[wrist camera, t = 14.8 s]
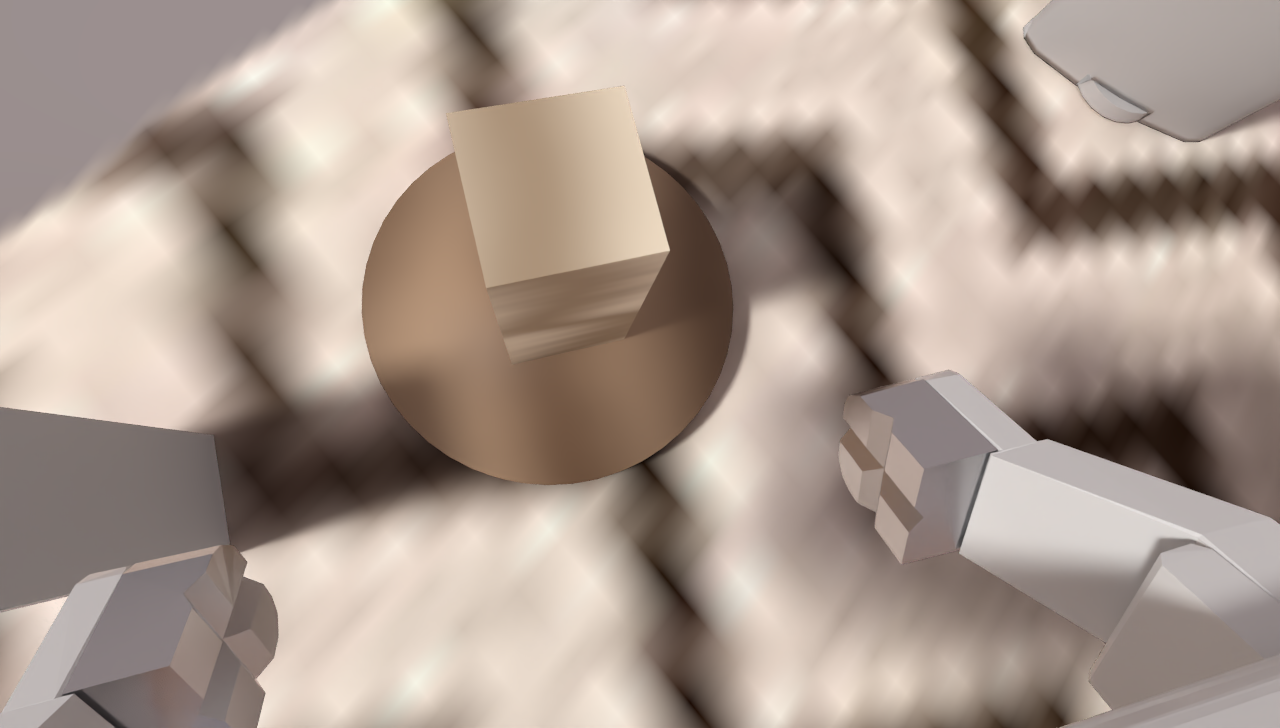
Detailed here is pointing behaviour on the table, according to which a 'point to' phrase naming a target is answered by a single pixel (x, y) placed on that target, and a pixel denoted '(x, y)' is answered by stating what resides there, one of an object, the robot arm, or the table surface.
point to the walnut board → (546, 387)
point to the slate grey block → (98, 500)
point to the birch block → (560, 218)
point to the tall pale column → (1165, 59)
